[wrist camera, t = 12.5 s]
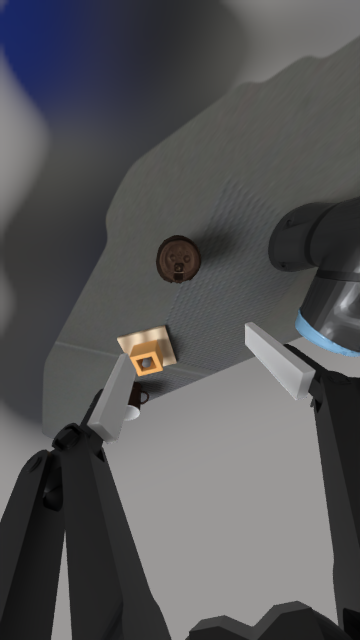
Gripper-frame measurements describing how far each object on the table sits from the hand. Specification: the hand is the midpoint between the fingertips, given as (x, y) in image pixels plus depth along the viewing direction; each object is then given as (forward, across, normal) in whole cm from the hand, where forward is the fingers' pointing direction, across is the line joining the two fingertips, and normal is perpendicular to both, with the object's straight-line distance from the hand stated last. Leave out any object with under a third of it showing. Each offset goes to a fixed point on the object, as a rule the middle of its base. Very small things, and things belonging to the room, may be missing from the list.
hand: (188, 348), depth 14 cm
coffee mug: (+27, +25, +35) cm, 51 cm away
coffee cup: (+27, -2, -8) cm, 28 cm away
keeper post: (+27, +14, +18) cm, 35 cm away
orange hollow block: (+26, +14, +18) cm, 34 cm away
